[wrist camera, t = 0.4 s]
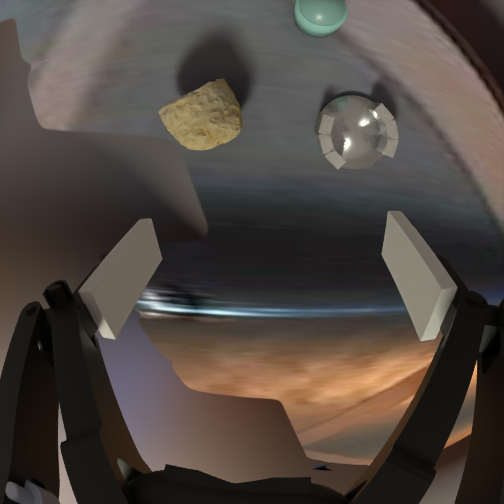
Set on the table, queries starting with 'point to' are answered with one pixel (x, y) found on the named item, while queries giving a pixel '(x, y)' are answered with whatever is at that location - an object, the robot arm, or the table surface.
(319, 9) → the teal rounded cylinder
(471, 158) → the table surface
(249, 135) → the table surface
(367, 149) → the grey ring-shaped piece
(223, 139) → the coral
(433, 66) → the table surface
